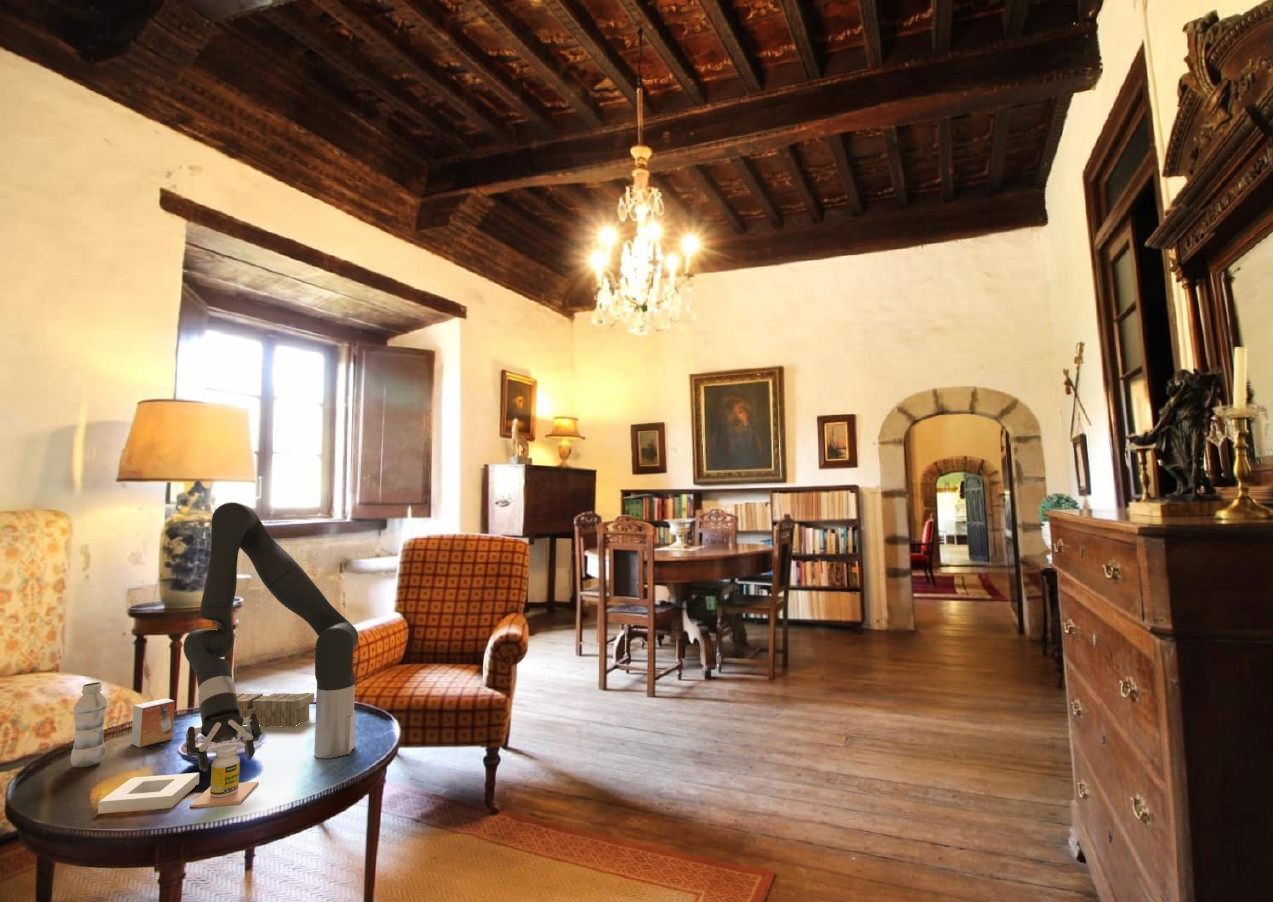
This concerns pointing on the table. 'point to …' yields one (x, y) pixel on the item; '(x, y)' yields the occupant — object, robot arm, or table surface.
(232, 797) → the terracotta tile
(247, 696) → the block tower
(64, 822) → the table surface
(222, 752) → the supplement bottle
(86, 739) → the plastic bottle
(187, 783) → the block
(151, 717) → the small box
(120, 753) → the table surface
